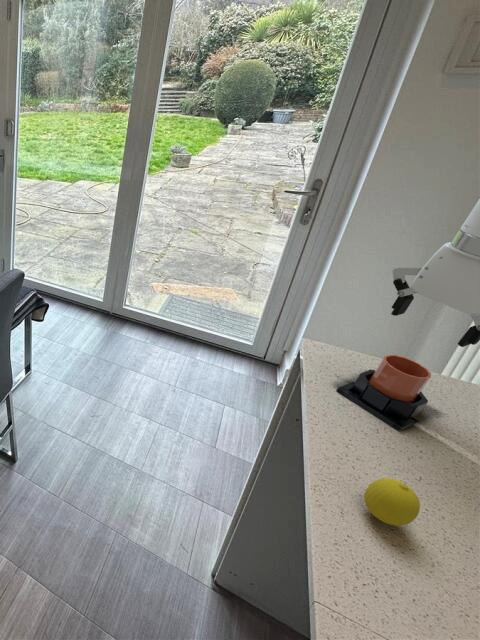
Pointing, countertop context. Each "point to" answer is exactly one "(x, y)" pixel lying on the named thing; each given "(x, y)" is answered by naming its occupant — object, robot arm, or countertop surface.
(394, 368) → the cup
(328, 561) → the countertop surface
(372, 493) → the lemon
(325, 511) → the countertop surface
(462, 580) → the countertop surface
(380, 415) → the cup holder
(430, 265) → the robot arm
